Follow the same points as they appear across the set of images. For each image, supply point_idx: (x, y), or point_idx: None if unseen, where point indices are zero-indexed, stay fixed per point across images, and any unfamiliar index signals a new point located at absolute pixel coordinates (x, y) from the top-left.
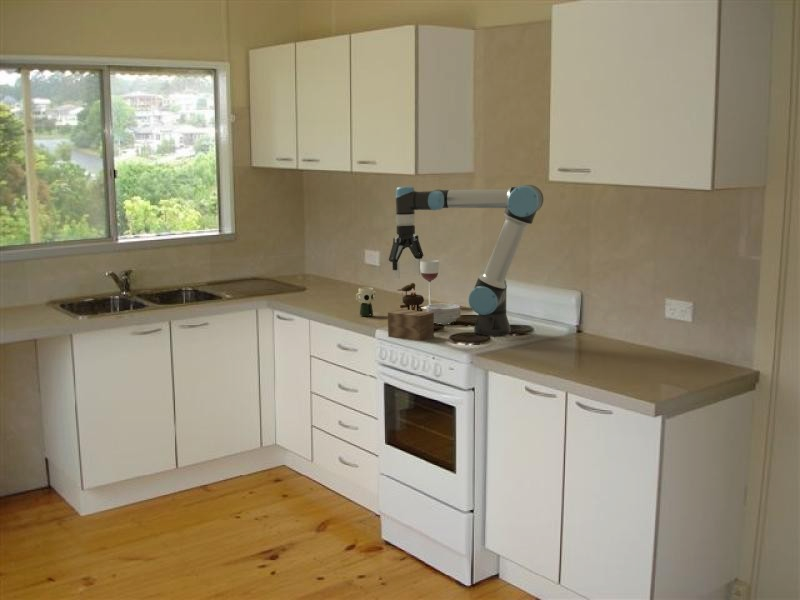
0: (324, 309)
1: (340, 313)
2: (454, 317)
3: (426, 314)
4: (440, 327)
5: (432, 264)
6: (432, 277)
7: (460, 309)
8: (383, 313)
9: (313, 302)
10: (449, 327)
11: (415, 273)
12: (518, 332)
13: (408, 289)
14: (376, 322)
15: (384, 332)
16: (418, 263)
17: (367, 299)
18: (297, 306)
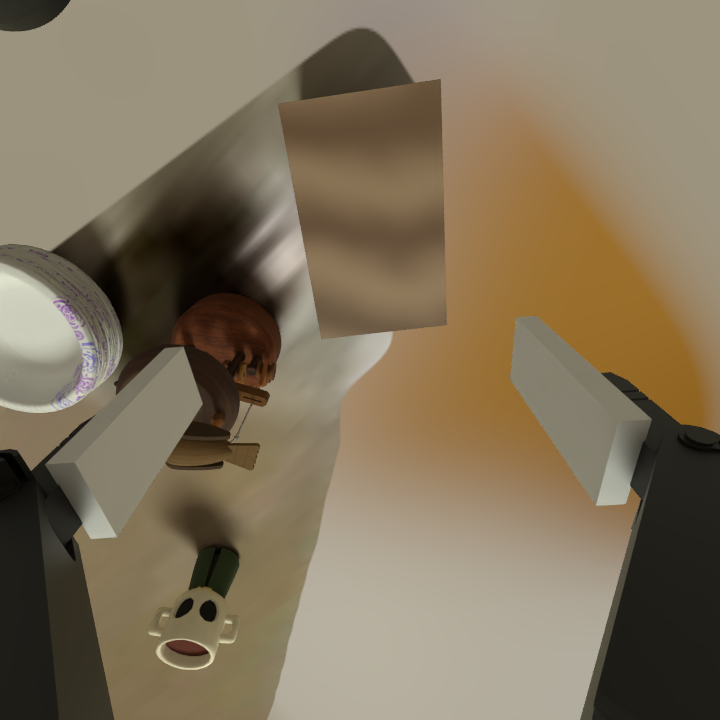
0: (244, 662)
1: (249, 616)
2: (23, 247)
3: (359, 91)
4: (136, 254)
5: None
6: None
7: None
8: (149, 553)
9: (206, 715)
10: (101, 222)
11: (192, 389)
12: None
13: (203, 427)
14: (264, 482)
15: (375, 352)
16: (117, 418)
17: (208, 602)
18: (268, 708)
